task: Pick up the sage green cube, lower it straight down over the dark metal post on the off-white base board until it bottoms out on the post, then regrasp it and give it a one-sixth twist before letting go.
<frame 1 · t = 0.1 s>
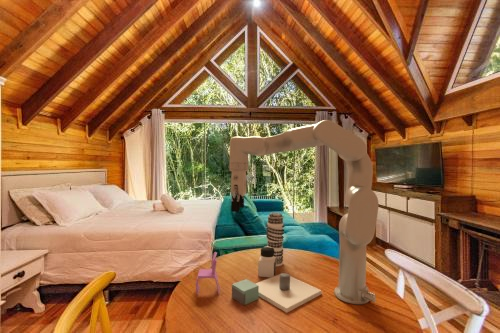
hand: (237, 209, 107), 31 cm above the table, tool pointing down, fingers open, 9 cm apart
sage green cube: (245, 298, 97), on the table
toy chair: (207, 291, 102), on the table
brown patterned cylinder: (274, 263, 131), on the table
post block: (284, 292, 102), on the table
medicine bottle: (267, 274, 118), on the table
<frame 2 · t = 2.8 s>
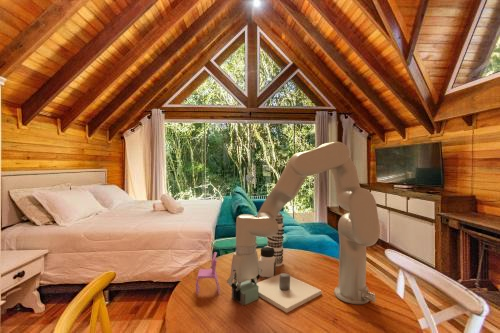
hand: (244, 296, 97), 1 cm above the table, tool pointing down, fingers closed on sage green cube, 7 cm apart
sage green cube: (244, 298, 97), on the table, touching gripper
everything else where it was.
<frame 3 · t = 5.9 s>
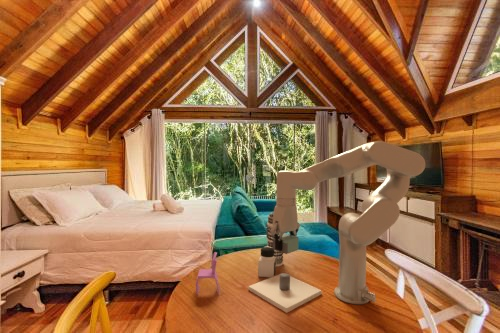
hand: (285, 247, 102), 18 cm above the table, tool pointing down, fingers closed on sage green cube, 7 cm apart
sage green cube: (285, 249, 102), point 17 cm above the table, touching gripper
everything else where it was.
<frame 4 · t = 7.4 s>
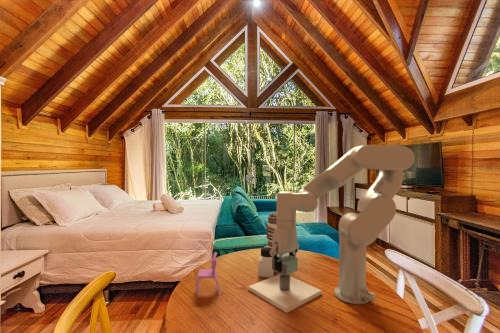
hand: (284, 268, 102), 9 cm above the table, tool pointing down, fingers closed on sage green cube, 7 cm apart
sage green cube: (284, 270, 102), point 9 cm above the table, touching gripper
everything else where it was.
when the fingers open (5 cm above the table, at t = 8.9 s): sage green cube drops 1 cm, resting on post block.
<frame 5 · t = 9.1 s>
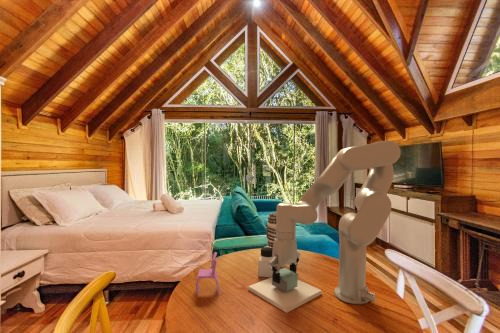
hand: (284, 278, 102), 5 cm above the table, tool pointing down, fingers open, 9 cm apart
sage green cube: (284, 285, 102), point 3 cm above the table, touching post block
everything else where it was.
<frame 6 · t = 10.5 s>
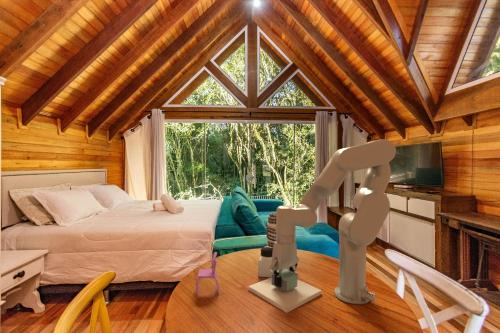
hand: (284, 282, 102), 4 cm above the table, tool pointing down, fingers closed on sage green cube, 7 cm apart
sage green cube: (284, 285, 102), point 3 cm above the table, touching gripper, post block
everything else where it was.
when the fingers open (4 cm above the table, at t = 12.5 s): sage green cube stays where it is, resting on post block.
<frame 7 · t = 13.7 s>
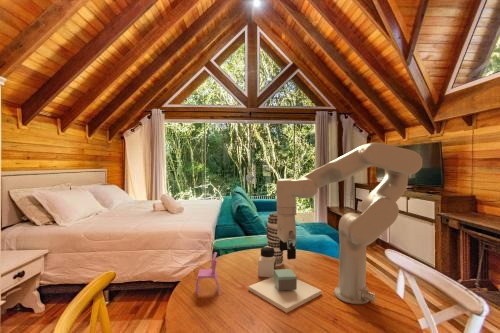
hand: (287, 254, 102), 15 cm above the table, tool pointing down, fingers open, 9 cm apart
sage green cube: (284, 285, 102), point 2 cm above the table, touching post block
everything else where it was.
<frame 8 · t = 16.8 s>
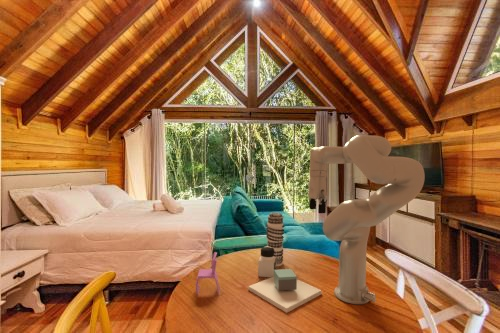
hand: (317, 211, 121), 28 cm above the table, tool pointing down, fingers open, 9 cm apart
nothing on the table moved.
at the end: sage green cube 0.1 cm from the post block (horizontally); sage green cube 0.1 cm off-centre on the post block, point 2.5 cm above the post block's base; the gripper is holding nothing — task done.
